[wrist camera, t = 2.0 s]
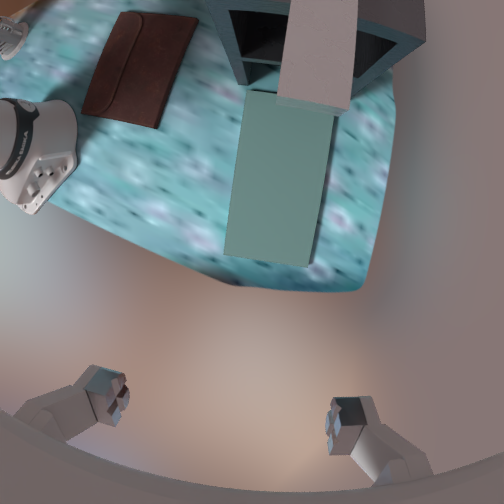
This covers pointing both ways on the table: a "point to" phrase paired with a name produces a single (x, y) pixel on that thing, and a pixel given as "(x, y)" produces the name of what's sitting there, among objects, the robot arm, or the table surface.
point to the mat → (277, 181)
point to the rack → (275, 26)
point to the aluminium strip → (319, 56)
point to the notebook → (138, 67)
